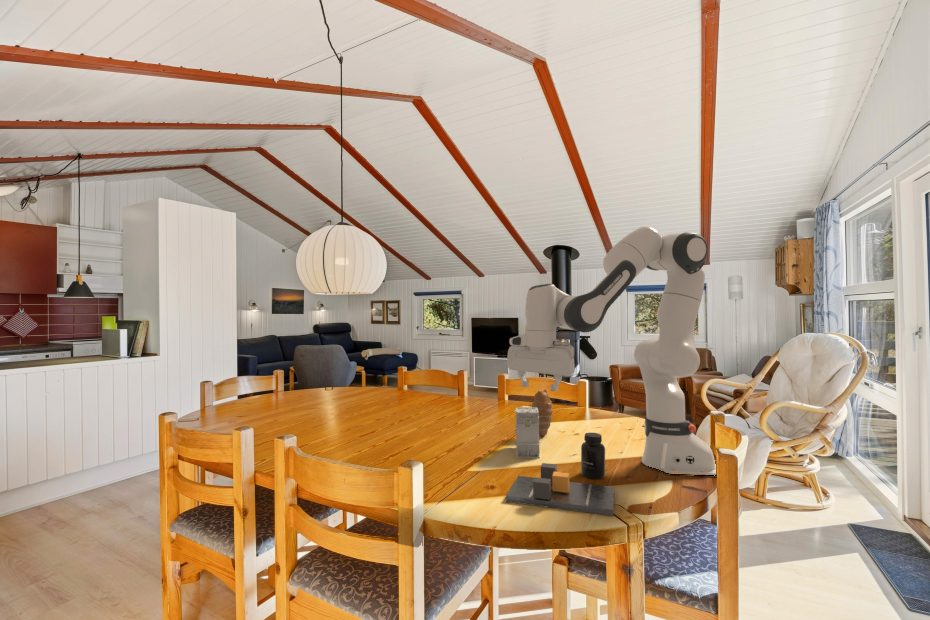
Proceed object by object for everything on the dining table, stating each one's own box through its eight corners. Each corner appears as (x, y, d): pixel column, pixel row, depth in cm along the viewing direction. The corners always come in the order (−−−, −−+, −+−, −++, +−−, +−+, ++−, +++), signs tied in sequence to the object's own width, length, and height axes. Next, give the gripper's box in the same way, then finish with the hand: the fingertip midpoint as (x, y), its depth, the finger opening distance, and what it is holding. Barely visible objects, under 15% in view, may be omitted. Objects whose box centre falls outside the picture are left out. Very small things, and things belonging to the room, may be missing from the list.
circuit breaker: (536, 444, 159) (536, 403, 159) (539, 458, 144) (538, 412, 144) (516, 444, 159) (515, 403, 159) (516, 457, 145) (516, 412, 145)
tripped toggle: (569, 488, 115) (569, 473, 115) (568, 492, 112) (568, 477, 112) (554, 486, 117) (554, 471, 117) (552, 490, 114) (552, 475, 114)
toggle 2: (551, 494, 111) (550, 479, 111) (549, 499, 109) (548, 483, 109) (535, 492, 113) (535, 477, 113) (533, 497, 110) (532, 481, 110)
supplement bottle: (582, 479, 126) (582, 437, 126) (579, 470, 133) (579, 431, 133) (607, 480, 125) (606, 438, 125) (603, 471, 132) (602, 431, 132)
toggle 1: (557, 478, 122) (556, 464, 122) (555, 482, 119) (555, 468, 119) (542, 477, 123) (542, 462, 123) (540, 481, 120) (540, 466, 120)
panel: (614, 492, 117) (614, 486, 117) (613, 516, 103) (613, 508, 103) (518, 481, 125) (518, 475, 125) (506, 501, 112) (506, 494, 112)
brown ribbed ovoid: (544, 440, 163) (543, 392, 163) (527, 436, 169) (526, 390, 169) (557, 435, 170) (556, 389, 170) (540, 431, 175) (539, 386, 175)
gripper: (579, 342, 121) (578, 392, 121) (516, 338, 134) (515, 383, 134) (569, 343, 116) (568, 395, 116) (504, 338, 129) (503, 385, 129)
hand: (539, 388), depth 125 cm, fingers open, 8 cm apart
